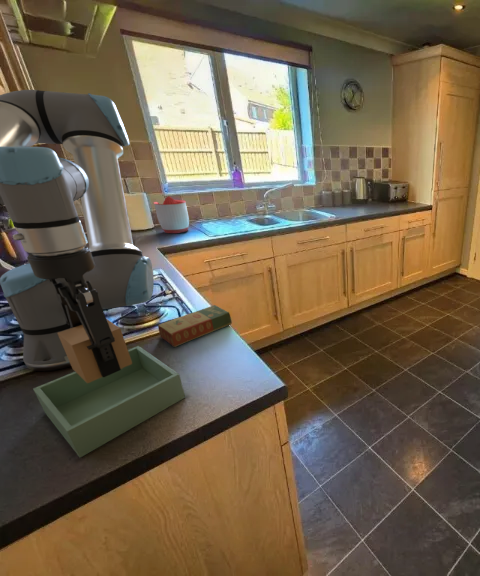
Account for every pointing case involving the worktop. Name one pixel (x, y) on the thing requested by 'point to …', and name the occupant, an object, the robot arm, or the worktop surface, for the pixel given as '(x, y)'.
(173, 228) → the citrus juicer
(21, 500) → the worktop surface
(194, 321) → the carton
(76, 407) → the basket
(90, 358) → the box
